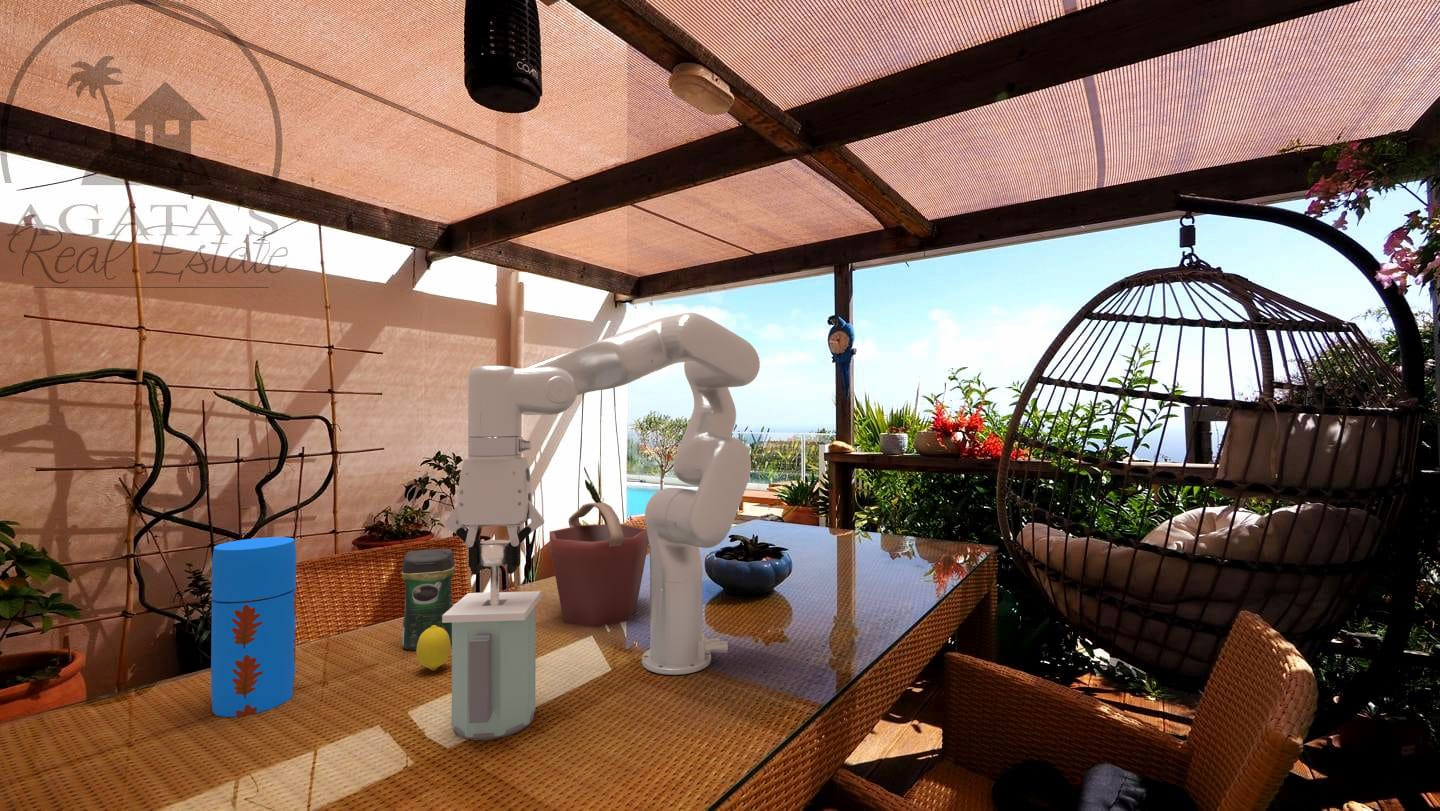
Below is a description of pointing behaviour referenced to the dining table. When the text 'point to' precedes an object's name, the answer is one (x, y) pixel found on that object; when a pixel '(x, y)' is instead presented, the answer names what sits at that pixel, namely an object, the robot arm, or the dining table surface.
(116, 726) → the dining table surface
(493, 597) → the plunger
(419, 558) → the coffee jar
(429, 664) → the lemon
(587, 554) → the bucket
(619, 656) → the dining table surface
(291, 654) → the thermos
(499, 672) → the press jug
